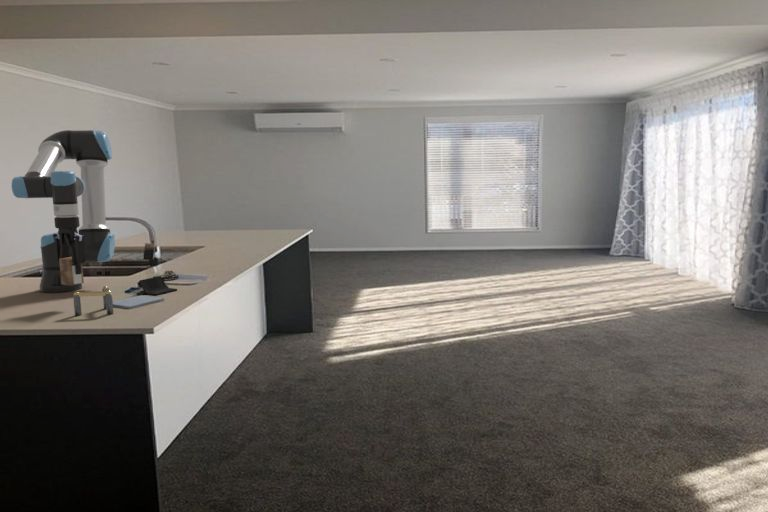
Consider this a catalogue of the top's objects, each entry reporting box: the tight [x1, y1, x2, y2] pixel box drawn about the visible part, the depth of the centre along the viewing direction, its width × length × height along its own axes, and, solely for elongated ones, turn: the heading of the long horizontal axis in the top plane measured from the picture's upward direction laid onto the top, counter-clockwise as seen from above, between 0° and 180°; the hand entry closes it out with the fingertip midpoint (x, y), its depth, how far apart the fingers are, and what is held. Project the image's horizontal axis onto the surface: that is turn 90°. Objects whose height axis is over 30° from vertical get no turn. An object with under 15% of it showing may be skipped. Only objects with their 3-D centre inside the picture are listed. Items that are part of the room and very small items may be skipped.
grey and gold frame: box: [72, 285, 114, 317], centre depth 200 cm, size 10×13×8 cm
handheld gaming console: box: [138, 276, 178, 297], centre depth 234 cm, size 12×7×10 cm
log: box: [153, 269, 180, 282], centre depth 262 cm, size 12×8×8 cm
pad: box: [113, 295, 165, 310], centre depth 215 cm, size 12×15×1 cm
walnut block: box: [59, 257, 85, 285], centre depth 207 cm, size 5×5×9 cm
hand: (72, 282), depth 208 cm, fingers closed on walnut block, 5 cm apart
